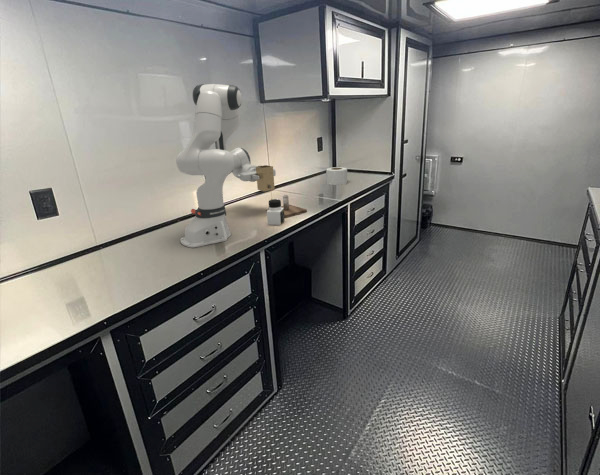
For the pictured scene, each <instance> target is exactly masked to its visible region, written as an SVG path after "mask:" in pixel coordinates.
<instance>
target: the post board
mask: <svg viewBox="0 0 600 475" xmlns="http://www.w3.org/2000/svg"><path fill="white" fill-rule="evenodd" d="M281 208H284V219H287V218H291V217H294V216H298V215H302V214H305V213H307V212H308V209H306V208H302V207H299V206H295V205H292V204H290V201H289V195H288V194H283V196H282V205H281ZM268 210H269V209H266V210H265V212H266V214H267V211H268Z"/></svg>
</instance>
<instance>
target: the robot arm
mask: <svg viewBox="0 0 600 475" xmlns="http://www.w3.org/2000/svg"><path fill="white" fill-rule="evenodd" d="M242 100H243V95H242V92H241V90H240V88H239V87H238V86H236V85H234V84H233V85H232V84H229V85H227V84H218V83H207V84H203V83H202V84H197V85H195V87H194V88H193V90H192V101H193V103H194V105H195V113H194V122H193V124H194V125H193V132H192V136H191V137H190V140H189V142H188V143H187V145H186V147H185V148H183V150H181V151H180V152H179V153H178V154H177V156H176V158H175V159H176V167H177V169H178V170H179V172H180V173H182V174H184V175H190V176H204V183H202V184H201V185H199V186H198V188H197V189H196V194H195V195H196V199H197V208H196V209H195V208H191V210H190V212H191V213H192V214H193V215H195V217H194V218H193V219H192V220H191V221H190V222H189V223H188V224H187V225H186V226H185V229H184V236H183V237H182V236H181V237H180V240H179V241H180V242H179V243H180V244H182V246H185V247H188V248H192V249H193V248H199V247H203V246H209V245H214V244H217V243H222V242H227V240H228V238H230V237H231V236H232V233H231V232H232V231H231V230H230V228H229V224H228V222H227V221H228V220H227V211H226V205H225V204H224V192H223V186H224V184H225V180H226V178H228V176H229V175H230V174H232V175H233V176H234V177H235V178H237V179H239V180H240V181H242V182H251V183H254V182H255V183H256V182H257V179H261V176H260V175H256V167H258V166H259V165H256V164H255V165H254V164H252V163H251V157H250V155H249V152H248V151H247V150H246V149H244V148H243V147H240V146H238V147H236V148H233V150H230V151H229V150H227V142H228V140H229V139H230V137H232V135H233V134H234V133H235V132H237V130H238V129H239V127H240V125H241V115H240V111H239V108H240V107H241V105H242V102H243V101H242ZM213 144H215V148H211V146H212V145H213ZM273 173H274V177H275V176H276V175H277V174H276V173H277V172H276V169H275V168H273Z"/></svg>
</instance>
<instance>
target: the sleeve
mask: <svg viewBox="0 0 600 475" xmlns="http://www.w3.org/2000/svg"><path fill="white" fill-rule="evenodd" d="M257 166H258V167H256V175H260V176H261V179H257V181H256V184H257V191H261V192H268V191H274V190H275V188H276V187H275V176H274V173H273V169H274V166H272V165H267V164H266V165H257Z"/></svg>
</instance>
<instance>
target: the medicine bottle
mask: <svg viewBox="0 0 600 475" xmlns="http://www.w3.org/2000/svg"><path fill="white" fill-rule="evenodd" d="M281 206H282V201H281V199H279V198H273V199H272V198H271V199H269V200H268V208H269V209H267V210H268V211H267V213H266V220H267V223H266V224H267V226H282V225H283V223H284V222H285V219H286V218H284V208H281Z"/></svg>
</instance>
